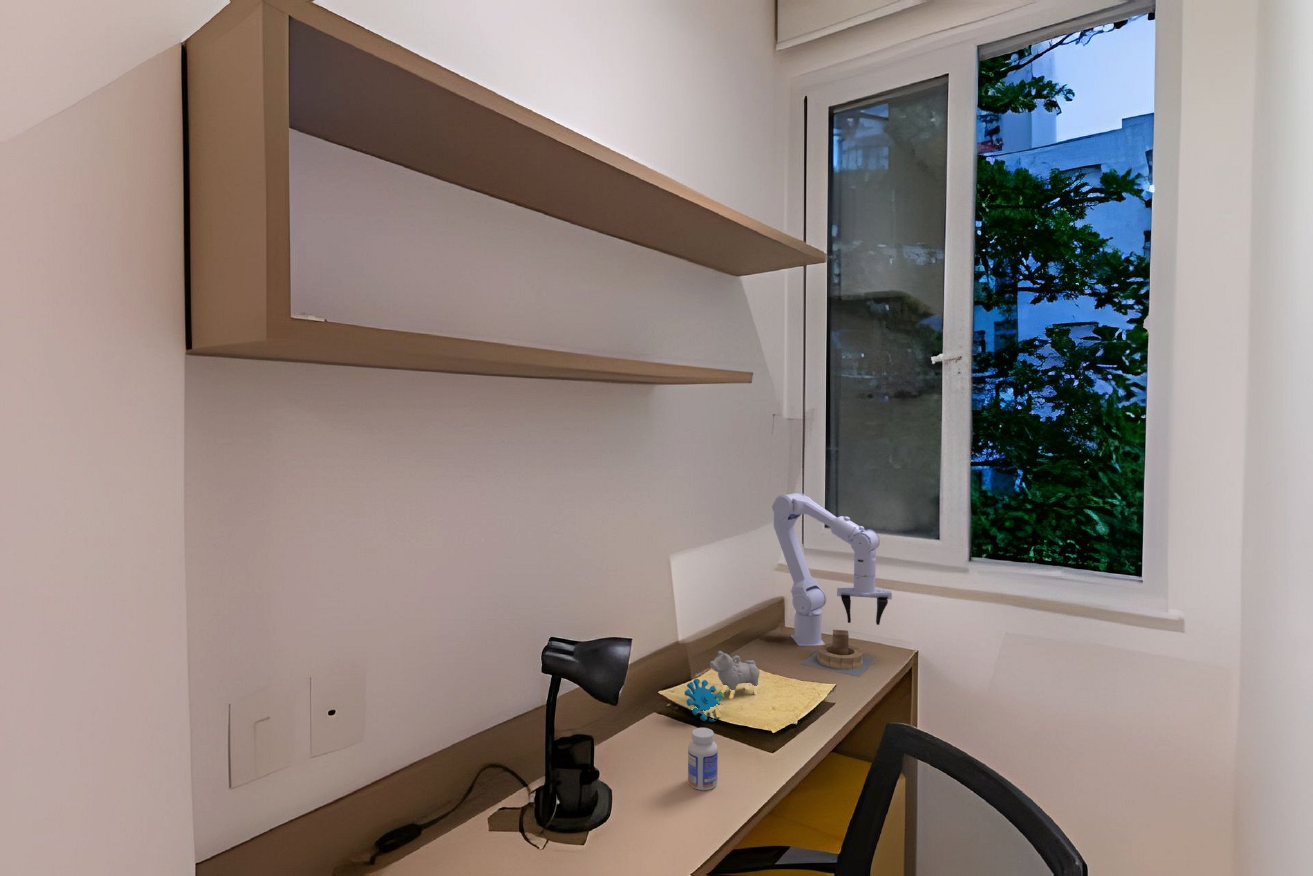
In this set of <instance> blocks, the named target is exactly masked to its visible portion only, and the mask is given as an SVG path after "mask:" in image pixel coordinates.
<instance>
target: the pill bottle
mask: <svg viewBox="0 0 1313 876" xmlns="http://www.w3.org/2000/svg"><path fill="white" fill-rule="evenodd" d="M691 739H692V740H691V742H689V744H688V747H687V748H688V749H687V750H688V751H687V755H688V758H687V765H688V766H687V778H688V779H687V780H688V781H687V782H688V785H689V786H690V787H691V788H693V789H695V790H698V791H710V790H712V789H714V788H716V786H717V785H718V769H719V768H718V762H719V761H718V758H719V756H718V744H717V743H716V742H715V741H714V740H715V734H714V730H712V729H710V728H708V727H698V728H695V729H693V730H692V733H691Z"/></svg>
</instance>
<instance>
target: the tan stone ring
mask: <svg viewBox="0 0 1313 876" xmlns="http://www.w3.org/2000/svg"><path fill="white" fill-rule="evenodd" d="M832 647H833V642H832V643H825V644H824V645H821V646H818V647H817V651H818V661H819V662H820V663H821V664H823V665H825V666H828V667H831V668H837V669H854V668H858V667H861V665H862V663H863V656H864V652H863V651H862V650H861V649H860V648H859V647H856V646H854V645H851V644H848V655H836V654H832Z"/></svg>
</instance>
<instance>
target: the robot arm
mask: <svg viewBox="0 0 1313 876" xmlns="http://www.w3.org/2000/svg"><path fill="white" fill-rule="evenodd" d="M771 507H772V511H773V528H774V531H775V534H776V536H777V540H778V542H779V546H780V548H781V551H782V554H783V557H784V558H785V562H786V565H787V567H788V571H789V573H790V576H791V578H792V582H793V584H792V587H791V589H790V592H791V596H792V606H793V608H794V610H795V611H796V612H795V613H794V622H793V623H794V626H793V627H794V628H793V629H794V630H793V632H794V634H791V635H790V637H791V638H792V639H793V640H794V642H795V643H796V644H797V645H798V646H799V647H802V646H803V647H809V646H811V647H813V646H814V647H817V646H818V647H820V646H821V645H824V644H826V643H825V642H824V641H823V640H822V626H823V625H822V619H823V607H825V605H826V603H827V595H826V592H825V591H824V590H823V589H822V588H821V586H820V584H819V582H818V581H817V580H816V579H815V578H813V577H812V575H811V571H810V569H809V566H808V563H807V561H806V558H805V555H804V553H803V550H802V547H801V544H800V542H799V538H798V536H797V534H796V530H795V528H794V526H795V524H796V522H797V520H798V519H799V517H800V516H801V515H808V516H810V517H811V518H813V519H815V520H816V521H819V522H820V523H822V524H824V525H826V526H828V527H829V528H830V531H831V533H832V534H833V535H835V536H836V537H838V538H839V539H841V540H842V541H844V542H846V543H847V544H848V545H850V547H851V549H852V550H853V554H854V559H853V560H854V561H853V562H854V565H853V587H836V595H837V597H840V598H841V602H842V604H843V606H844V609H845V613H846V616H847V623H848V624H850V623H851V622H852V621H851V620H852V619H851V605H852V604H851V603H852V600H851V597H855V598H856V597H857V598H859V597H860V598H872V599H874V598H875V599H876V616H875V617H876V618H875V623H876V626H879V625H880V623H881V618H882V616H883V613H884V611H885V609H886V607H887V606H888V603H889V601H888V600H893V597H892V596H893V595H892V594H893V593H892V590H885V589H879V588H878V589H877V588H876V568H877V566H876V565H877V563H876V561H877V549H878V548H879V546H880V543H881V540H880V536H879V535H878V533H876V532H875V531H874V529H865V527H864V526H862V525H858V524H856V523H855V522H854V521H852V520H851V518H850V517H849V516H843V515H842V516H838V517H837V516H836V515H834V514H833V513H831V512H830V511H828V510H827V509H825V508H824V507H822V506H821V505H819V504H818V503H816V502H815V501H814V500H812V499H811V497H809V496H807V495H805V494H804V493H802V492H799V491H797V492H794V493H787V494H780V495H778V496H777V497H776V498H775V499H774V502H773V504H772V506H771Z"/></svg>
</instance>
